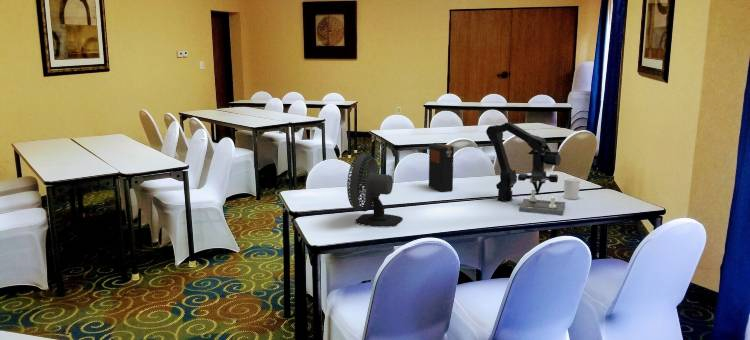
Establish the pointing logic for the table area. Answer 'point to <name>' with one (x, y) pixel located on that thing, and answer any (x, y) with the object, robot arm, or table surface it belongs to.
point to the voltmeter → (441, 166)
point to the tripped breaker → (533, 196)
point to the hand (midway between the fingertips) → (537, 194)
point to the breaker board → (541, 207)
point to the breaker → (552, 202)
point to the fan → (369, 191)
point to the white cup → (571, 188)
